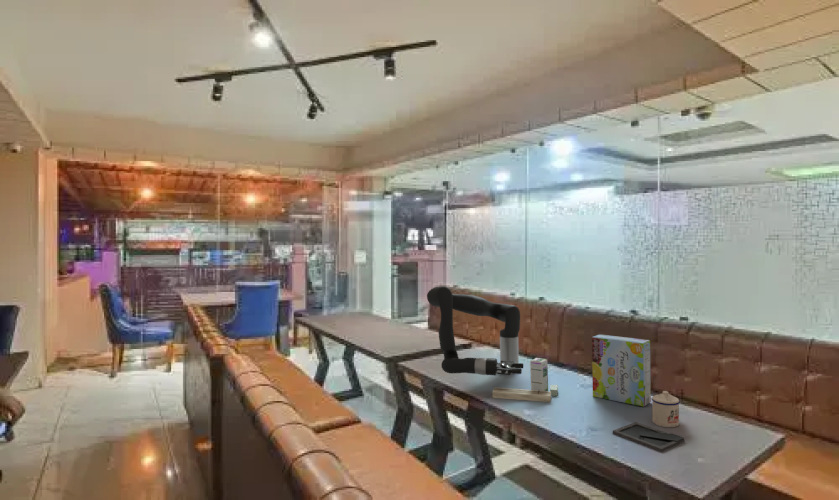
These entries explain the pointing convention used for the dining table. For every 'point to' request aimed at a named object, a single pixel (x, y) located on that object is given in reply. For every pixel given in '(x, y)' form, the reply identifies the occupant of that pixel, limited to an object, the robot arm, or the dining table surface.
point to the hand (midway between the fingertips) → (522, 368)
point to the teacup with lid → (665, 410)
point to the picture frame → (649, 436)
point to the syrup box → (539, 374)
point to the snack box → (621, 369)
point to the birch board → (522, 394)
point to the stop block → (554, 390)
